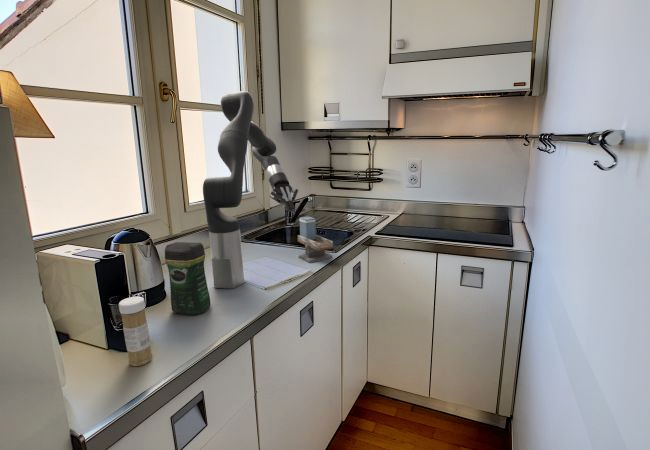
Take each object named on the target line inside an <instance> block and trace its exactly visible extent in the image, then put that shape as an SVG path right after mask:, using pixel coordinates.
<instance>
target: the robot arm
mask: <svg viewBox="0 0 650 450" xmlns="http://www.w3.org/2000/svg"><path fill="white" fill-rule="evenodd" d="M220 109H221V111H222V114H223V115H224V117H225V118H226V119H227V120H228V121H229V123H227V125H226V126H225V127H224V128H223V129H222V131H221V132H220V134H219V139H218V145H217V152H218V153H217V154H218V155H219V158H220V159H221V161H222V162H223V164H225V166H226V167H227V168H228V169H229V172H230V176H218V177H217V176H215V177H206V178H205V179H204V181H203V184H202V194H203V204H204V209H205V216H206V222H207V227H208V236H209V246H210V254H211V255H210V257H211V258H210V259H211V261H210V262H211V268H212V270H211V271H212V278H213V288H214V289H234V288H236V287H238V286H241V285H242V284H243V283H245V273H244V272H245V271H244V265H243V263H244V261H243V251H242V250H243V249H242V239H241V238H242V236H241V225H240V224H241V223H240V221H239V219H238V218H237V217H232V216H229V215H227V214H225V212H224V213H223V212H222V211H221V209H229V208H231V209H233V208H237V207H239V206H240V204H241V203H242V199H243V189H244V188H243V187H244V186H243V185H244V169H245V163H246V155H247V152H248V151H247V150H248V144H250V145H251V146H252V149H251V152H252V155H253V157H255V159H256V160H257V161H258V162H259V163H260V164H261V166H262V168H263V170H264V172H265V175H266V178H267V180H268V183H269V185H270V187H271V189H272V191H271V192H270V194H269V198H271V199H272V200H274V201H275V202H277V203H278V204H280V205H282V204H284V205H285V208H286V210H287V211H288V212H293V211H294V210H295V204H294V202H295V200H296V198H297V196H298V195H297V194H298V193H299V189H298V188H295V189H294V188H293V186H291V185H290V182H289V179H288V177H287V175H286V173H285V171H284V169H283V167H282V166H281V164H280V162H279V159H278V158H277V157H276V156H275V155H274V154H275V153H276V152H277V145H276V143H275V142H274V140H272V139H271V138H269V137H268V136H266V134H265V133H264V131H263V129H262V128H261V127H260V125H258V124H257V123H256V122H253V121H252V120H253V116H254V112H255V102H254V98H253V96H252V94H251V93H250V92H249V91H247V90H241V91H236V92H230V93H226V94H223V95H222V96H221V98H220ZM248 142H249V143H248Z"/></svg>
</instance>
